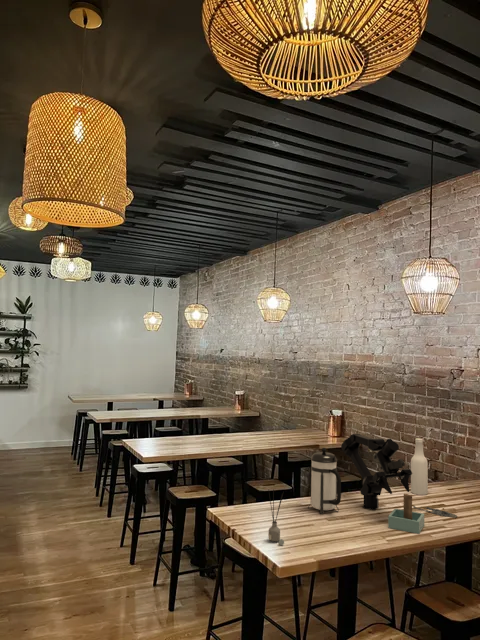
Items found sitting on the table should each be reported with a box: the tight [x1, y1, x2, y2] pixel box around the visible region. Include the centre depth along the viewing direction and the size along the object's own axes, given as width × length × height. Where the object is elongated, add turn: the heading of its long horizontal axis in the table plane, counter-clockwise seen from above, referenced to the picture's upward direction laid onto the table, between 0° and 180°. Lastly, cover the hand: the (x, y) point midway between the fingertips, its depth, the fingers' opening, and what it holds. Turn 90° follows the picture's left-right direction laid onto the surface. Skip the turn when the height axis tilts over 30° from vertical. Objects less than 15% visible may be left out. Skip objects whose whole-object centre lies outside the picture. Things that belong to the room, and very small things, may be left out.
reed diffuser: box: [268, 489, 285, 546], centre depth 195 cm, size 10×7×20 cm
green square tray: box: [387, 508, 425, 535], centre depth 215 cm, size 13×13×5 cm
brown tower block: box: [403, 493, 413, 520], centre depth 215 cm, size 5×5×13 cm
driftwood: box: [412, 505, 458, 519], centre depth 236 cm, size 21×7×2 cm, turn 38°
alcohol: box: [410, 437, 429, 496], centre depth 270 cm, size 9×9×30 cm
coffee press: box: [307, 447, 342, 515], centre depth 235 cm, size 17×16×30 cm
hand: (400, 492), depth 221 cm, fingers open, 9 cm apart
